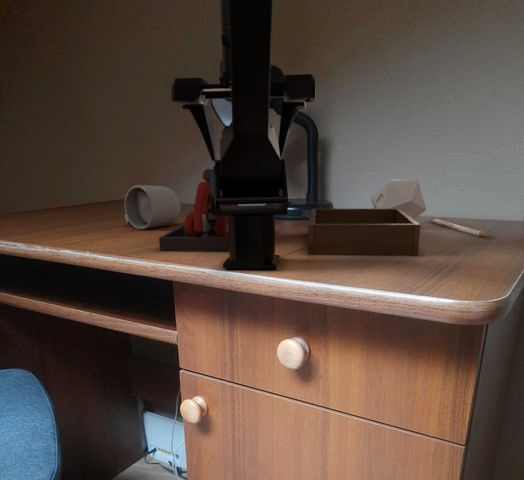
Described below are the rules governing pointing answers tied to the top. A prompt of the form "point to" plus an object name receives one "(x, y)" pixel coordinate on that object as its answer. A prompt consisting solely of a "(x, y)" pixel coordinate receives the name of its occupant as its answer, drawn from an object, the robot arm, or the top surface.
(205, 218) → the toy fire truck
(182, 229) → the desk tray
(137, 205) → the ceramic mug
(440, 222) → the pencil
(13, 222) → the top surface
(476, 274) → the top surface
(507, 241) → the top surface
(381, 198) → the die
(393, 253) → the toy crate
